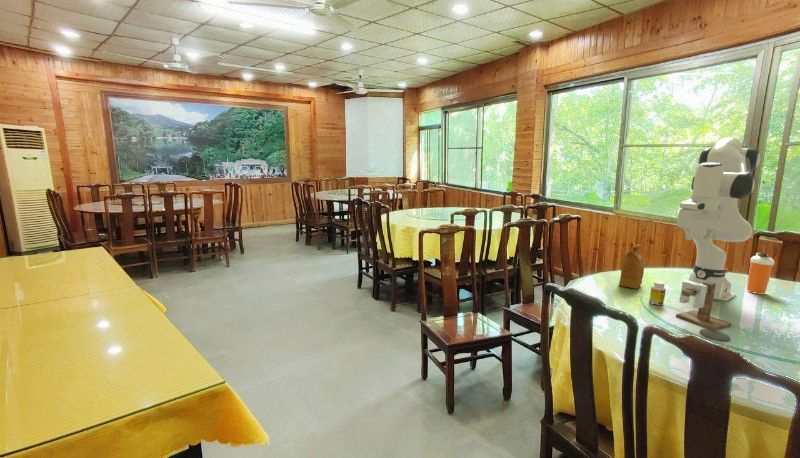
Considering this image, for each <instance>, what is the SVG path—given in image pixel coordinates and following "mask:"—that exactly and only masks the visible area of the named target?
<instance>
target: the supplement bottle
mask: <svg viewBox="0 0 800 458" xmlns="http://www.w3.org/2000/svg"><path fill="white" fill-rule="evenodd" d="M666 290H667V288H666V287H665V283H664V282H662V281H659V280H658V281H654V282H653V284H652V285H651V289H650V293H649V301H648V302H649V303H650V302H651V303H653V304H657V305H662V306H664V303H665V297H666ZM651 303H650V304H651ZM653 304H652V305H653ZM657 305H656V306H657Z"/></svg>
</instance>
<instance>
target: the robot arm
mask: <svg viewBox="0 0 800 458" xmlns="http://www.w3.org/2000/svg"><path fill="white" fill-rule="evenodd" d="M761 158H762V157H761V154H760V150H758V149H757V148H753V147H748V148H745V147H743V146H742V143H741V140H739V139H738V138H735V137H730V136H729V137H724V138H721V139H720V140H718V141H717V142H715V144H714V145H713V146H712V147H709V148H706V149H703V150H702V151H701V152H700V154H699V156H698V159H697V162H698V163H697V165H698V166H697V168H696V171H695V174H694V176H693V177H692V180H691V186H690V187H691V190H692V193H691V196H690V198H689V199H687V200H685V201H682V202H680V204H679V208H680V210H679V211H678V215H677V221H676V224H677V227H678V228H680V229H683V231H684V234H685V240H687V241H693V242H694V244H695V246H696V259H695V264H694V265H693V271H692V273H690V275H689V278H688V280H689V281H692V282H696V283H699V284H703V282H711V283H715V284H716V287H715V292H714V297H713V300H718V301H723V302H724V301H729V300H731V299H733V298H734V297H736V295H737V294H736V292H733V291H731V289H732V283H731V281H729V280H728V278H726V274H728V273H729V269H728V268H725V265H726V260H727V253H726V252H725V250H724V249H722V248H720V247H718V246H717V245H715V244H714V242H713V240H716V241H722V242H729V243H732V242H733V243H740V242H745V241H747V240H749V239H750V238H751V236H752V235H753V227H752V225H751V223H750V222H749V221H748V220H746V219H745V218H744V217H743V215H742V214H741V213H740V210H739V205H738V201H739V200H744V199H746V198H747V197H749V196H751V195H752V193H753V192H754V189H755V187H756V186H755V185H756V184H755V179H754V176H753V172H752V171H754V170H756V169H757V167H758V166H759V165H760V163H761ZM694 296H695V297H696V295H694Z"/></svg>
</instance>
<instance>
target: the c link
mask: <svg viewBox="0 0 800 458" xmlns="http://www.w3.org/2000/svg"><path fill="white" fill-rule="evenodd" d="M685 289H690V290H694V291H696V296H695V298H694V303H693V307H694V308H695V309H696V308H697V309H699V308H702V307H704V302H705V297H706V291H707V285H703V284H699V283H696V282H692V281H689V279H688V280H682V284H681V289H680V296H679V300H678V301H679V303H681V304H687V303H690V297H691V296H684V295H682V290H685Z"/></svg>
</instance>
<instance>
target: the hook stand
mask: <svg viewBox="0 0 800 458" xmlns="http://www.w3.org/2000/svg"><path fill="white" fill-rule="evenodd" d="M703 285H707V291H706V297H705V302H704V307H702V308H697V310H689V311H685V312H680V313H676V315H675V318H678V317H679V318H678V319H681V320H684V321H687V322H689V323H692V324H695V325H696V326H700V327H703V328H704V329H710V330H715V331H718V330H720V329H725V328H728V327H731V326H732V322H729V321H727V320H724V319H720V318H718V317H714V316H712V315H711V313H712V308H713V303H714V299H713V297H714V292H715V287H716V284H715V283H711V282H703ZM682 295H684V296H690V297H692V296H695V295H696V291H694V290H690V289H685V290H682Z"/></svg>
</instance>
